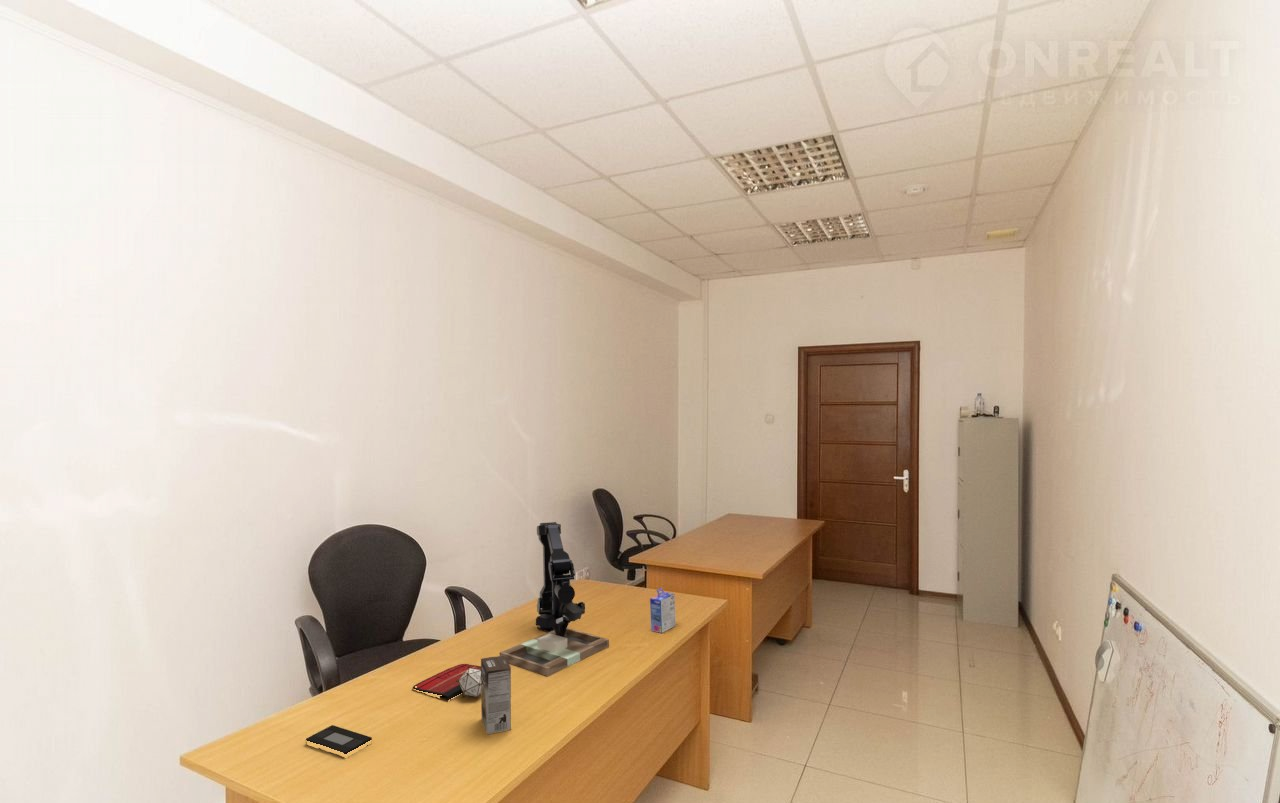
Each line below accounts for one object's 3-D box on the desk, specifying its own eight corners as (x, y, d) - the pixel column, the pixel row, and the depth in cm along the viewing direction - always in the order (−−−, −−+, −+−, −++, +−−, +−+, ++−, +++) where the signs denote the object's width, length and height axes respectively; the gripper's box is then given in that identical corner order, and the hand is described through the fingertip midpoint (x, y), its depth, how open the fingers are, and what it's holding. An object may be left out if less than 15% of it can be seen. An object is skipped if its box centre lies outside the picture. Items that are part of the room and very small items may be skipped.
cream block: (537, 647, 210) (537, 638, 210) (549, 642, 214) (549, 633, 214) (555, 652, 205) (555, 643, 205) (567, 647, 210) (567, 638, 210)
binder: (499, 668, 194) (448, 695, 176) (499, 675, 194) (448, 703, 176) (461, 660, 202) (409, 686, 184) (462, 668, 202) (409, 694, 184)
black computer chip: (345, 760, 148) (345, 752, 148) (305, 747, 154) (305, 738, 154) (371, 745, 154) (371, 737, 154) (332, 732, 161) (332, 725, 161)
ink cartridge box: (664, 623, 240) (663, 585, 241) (676, 626, 237) (676, 587, 237) (649, 630, 232) (649, 591, 232) (662, 633, 229) (661, 593, 229)
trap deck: (499, 660, 206) (499, 652, 206) (562, 633, 230) (562, 626, 230) (547, 676, 193) (547, 668, 193) (609, 646, 217) (609, 639, 217)
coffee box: (480, 719, 166) (480, 658, 166) (504, 714, 169) (504, 654, 169) (486, 735, 158) (486, 671, 158) (511, 730, 160) (511, 666, 161)
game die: (479, 707, 181) (501, 677, 182) (463, 709, 173) (485, 678, 175) (460, 685, 185) (481, 657, 186) (444, 687, 177) (466, 657, 179)
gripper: (558, 605, 201) (559, 654, 201) (596, 591, 216) (596, 636, 216) (534, 599, 208) (534, 646, 208) (572, 586, 223) (572, 630, 223)
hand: (560, 640), depth 213 cm, fingers closed
